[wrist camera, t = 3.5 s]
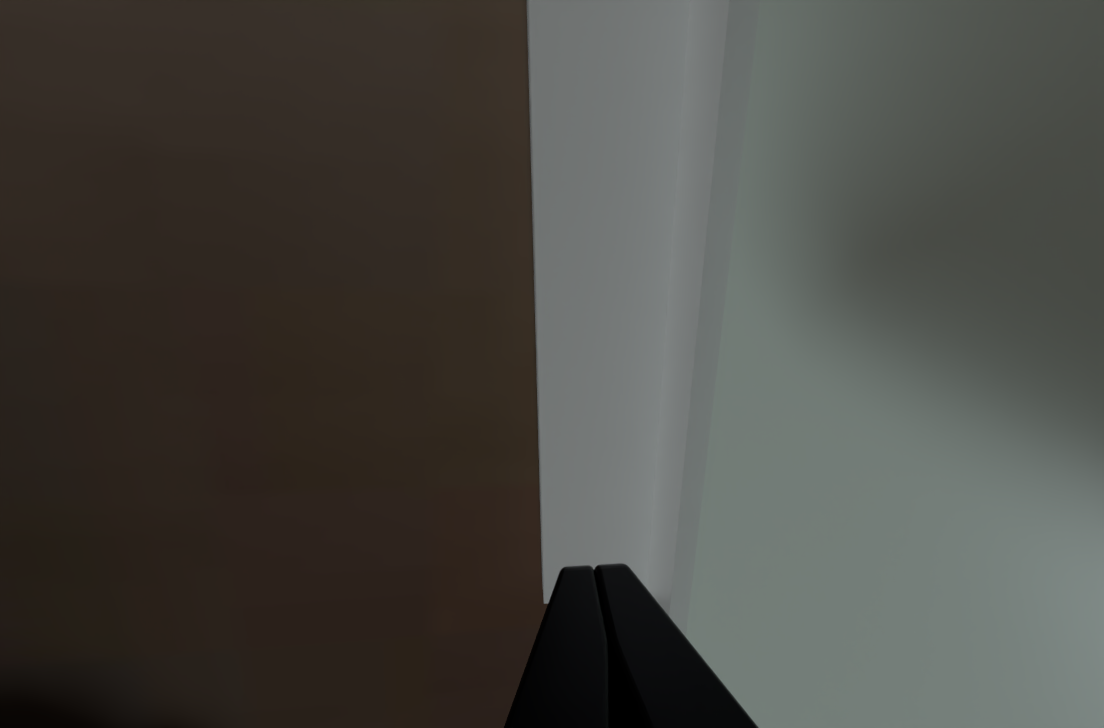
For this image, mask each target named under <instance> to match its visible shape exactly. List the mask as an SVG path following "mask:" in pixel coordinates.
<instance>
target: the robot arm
mask: <svg viewBox="0 0 1104 728" xmlns="http://www.w3.org/2000/svg"><path fill="white" fill-rule="evenodd" d="M504 728H759V727H758V726H757V725H756V724H755V722H754V721H753V720H752V719H751V717H750V716H749V715H748V714H747V712H746V711H745V710H744V709H743V707H742V706H741V705H740V704H739V703H738V701H737V700H736V699H735V698H734V696H733V695H732V694H731V693H730V691H729V690H728V689H727V688H726V686H725V685H724V684H723V683H722V681H721V680H720V679H719V678H718V676H717V675H716V674H715V673H714V672H713V670H712V669H711V668H710V667H709V665H708V664H707V663H706V662H705V660H704V659H703V658H702V657H701V655H700V654H699V653H698V652H697V650H696V649H695V648H694V647H693V645H692V644H691V643H690V642H689V640H688V639H687V638H686V637H685V636H684V634H683V633H682V632H681V631H680V629H679V628H678V627H677V626H676V624H675V623H674V622H673V621H672V619H671V618H670V617H669V616H668V614H667V613H666V612H665V611H664V609H663V608H662V607H661V606H660V604H659V603H658V602H657V601H656V600H655V598H654V597H653V596H652V595H651V593H650V592H649V591H648V590H647V588H646V587H645V586H644V585H643V583H642V582H641V581H640V580H639V578H638V577H637V576H636V575H635V573H634V572H633V571H632V570H631V569H630V567H629V566H628V565H626V564H624V563H617V564H600V565H597V566H596V567H595V569H593V567H592V566H590V565H582V566H566V567H563V568H562V569H561V570H560V572H559V575H558V578H557V580H556V583H555V586H554V589H553V592H552V594H551V597H550V600H549V603H548V606H547V608H546V611H545V614H544V617H543V620H542V622H541V625H540V628H539V631H538V634H537V636H536V639H535V642H534V645H533V648H532V650H531V653H530V656H529V659H528V662H527V664H526V667H525V670H524V673H523V676H522V678H521V681H520V684H519V687H518V689H517V692H516V695H515V698H514V701H513V703H512V706H511V709H510V712H509V715H508V717H507V720H506V723H505V726H504Z"/></svg>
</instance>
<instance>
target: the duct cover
mask: <svg viewBox="0 0 1104 728" xmlns="http://www.w3.org/2000/svg"><path fill="white" fill-rule="evenodd" d="M686 638H687V639H688V640H689V642H690V643H691V644H692V645H693V647H694V648H695V649H696V650H697V652H698V653H699V654H700V655H701V657H702V658H703V659H704V660H705V662H706V663H707V664H708V665H709V667H710V668H711V669H712V670H713V672H714V673H715V674H716V675H717V676H718V678H719V679H720V680H721V681H722V683H723V684H724V685H725V686H726V688H727V689H728V690H729V691H730V693H731V694H732V695H733V696H734V698H735V699H736V700H737V701H738V703H739V704H740V705H741V706H742V707H743V709H744V710H745V711H746V712H747V714H748V715H749V716H750V717H751V719H752V720H753V721H754V722H755V724H756V725H757V726H758V727H759V728H1104V0H760V4H759V13H758V21H757V30H756V39H755V47H754V56H753V64H752V73H751V81H750V90H749V99H748V107H747V116H746V124H745V133H744V142H743V150H742V159H741V167H740V176H739V184H738V193H737V202H736V210H735V219H734V227H733V236H732V244H731V253H730V262H729V270H728V279H727V287H726V296H725V304H724V313H723V322H722V330H721V339H720V347H719V356H718V365H717V373H716V382H715V390H714V399H713V407H712V416H711V425H710V433H709V442H708V450H707V459H706V467H705V476H704V485H703V493H702V502H701V510H700V519H699V528H698V536H697V545H696V553H695V562H694V570H693V579H692V588H691V596H690V605H689V613H688V622H687V630H686Z"/></svg>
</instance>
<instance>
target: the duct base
mask: <svg viewBox="0 0 1104 728" xmlns="http://www.w3.org/2000/svg"><path fill="white" fill-rule="evenodd" d="M759 4H760V0H527V32H528V69H529V107H530V144H531V181H532V218H533V256H534V293H535V330H536V368H537V405H538V442H539V480H540V517H541V554H542V583H543V596H544V604H545V603H549V600H550V597H551V594H552V592H553V589H554V586H555V583H556V580H557V578H558V575H559V572H560V570H561V569H562V568H563V567H566V566H582V565H590V566H592V567H593V569H595V567H596V566H597V565H600V564H617V563H624V564H626V565H628V566H629V567H630V569H631V570H632V571H633V572H634V573H635V575H636V576H637V577H638V578H639V580H640V581H641V582H642V583H643V585H644V586H645V587H646V588H647V590H648V591H649V592H650V593H651V595H652V596H653V597H654V598H655V600H656V601H657V602H658V603H659V604H660V606H661V607H662V608H663V609H664V611H665V612H666V613H667V614H668V616H669V617H670V618H671V619H672V621H673V622H674V623H675V624H676V626H677V627H678V628H679V629H680V631H681V632H682V633H683V634H684V636H685V637H686V630H687V622H688V613H689V605H690V596H691V588H692V579H693V570H694V562H695V553H696V545H697V536H698V528H699V519H700V510H701V502H702V493H703V485H704V476H705V467H706V459H707V450H708V442H709V433H710V425H711V416H712V407H713V399H714V390H715V382H716V373H717V365H718V356H719V347H720V339H721V330H722V322H723V313H724V304H725V296H726V287H727V279H728V270H729V262H730V253H731V244H732V236H733V227H734V219H735V210H736V202H737V193H738V184H739V176H740V167H741V159H742V150H743V142H744V133H745V124H746V116H747V107H748V99H749V90H750V81H751V73H752V64H753V56H754V47H755V39H756V30H757V21H758V13H759Z"/></svg>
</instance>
